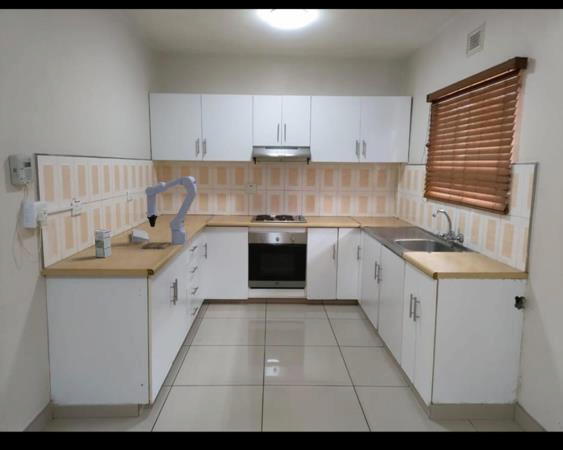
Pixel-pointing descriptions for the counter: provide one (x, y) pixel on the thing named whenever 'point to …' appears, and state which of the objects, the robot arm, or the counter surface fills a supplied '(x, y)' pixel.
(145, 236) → the decorative molding
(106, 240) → the syrup box
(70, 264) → the counter surface
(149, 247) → the board
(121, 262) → the counter surface
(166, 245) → the laid plank
